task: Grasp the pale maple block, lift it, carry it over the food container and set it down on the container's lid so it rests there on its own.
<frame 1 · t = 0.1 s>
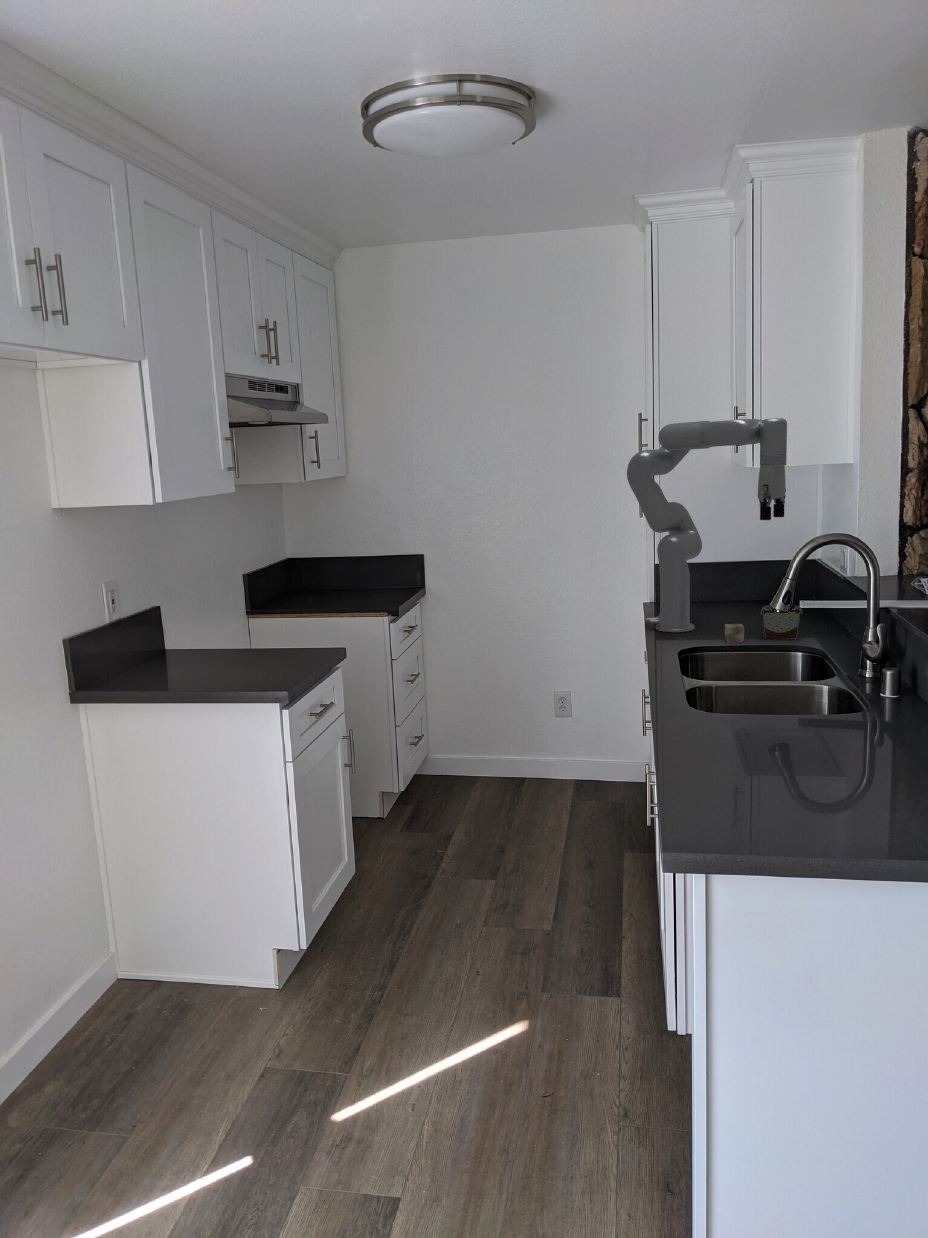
hand: (772, 518, 280), 37 cm above the countertop, tool pointing down, fingers open, 9 cm apart
maple block: (734, 641, 287), on the countertop
food container: (778, 638, 289), on the countertop
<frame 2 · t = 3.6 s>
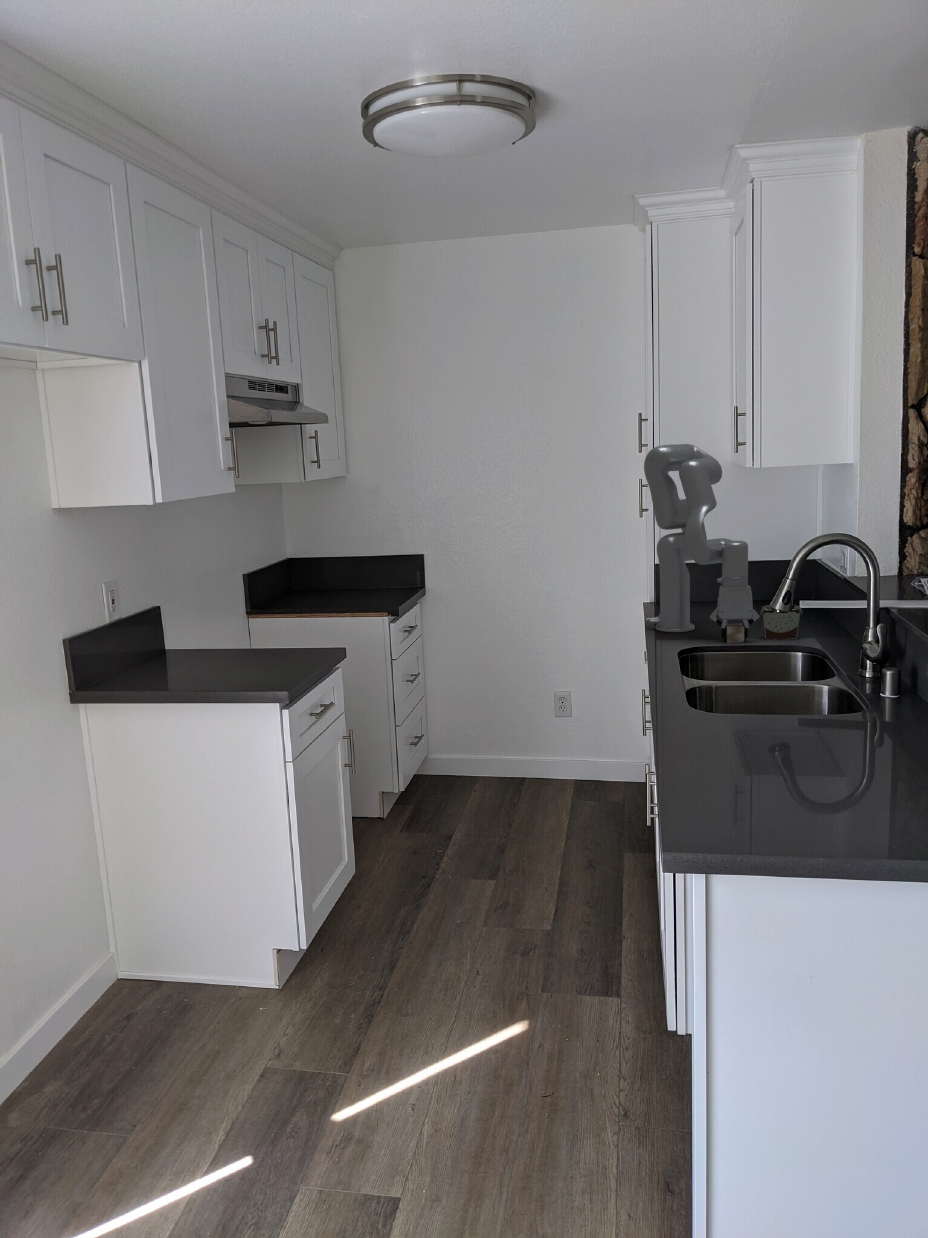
hand: (734, 639, 287), 0 cm above the countertop, tool pointing down, fingers closed on maple block, 5 cm apart
maple block: (734, 641, 287), on the countertop, touching gripper
everything else where it was.
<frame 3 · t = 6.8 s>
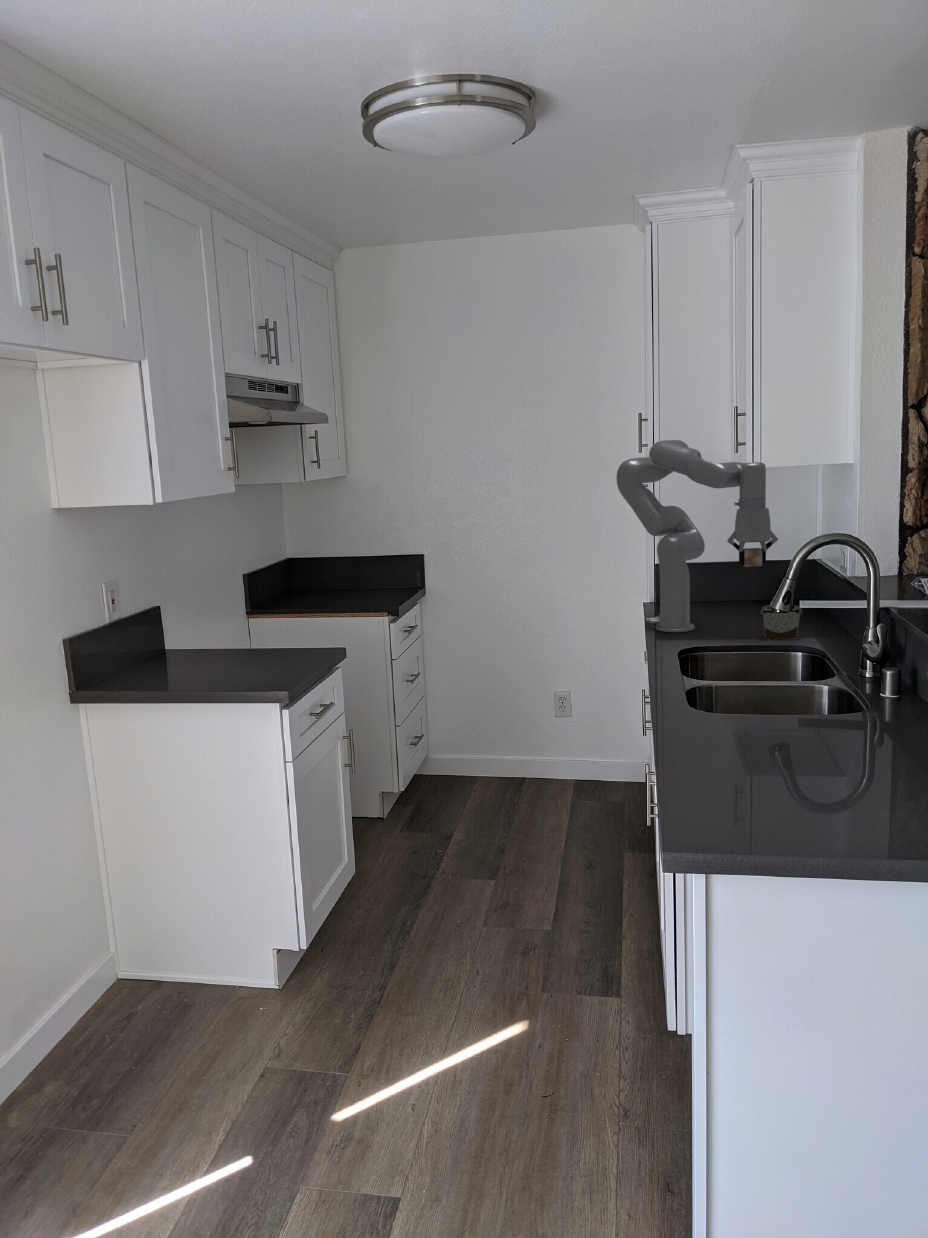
hand: (752, 563, 283), 24 cm above the countertop, tool pointing down, fingers closed on maple block, 5 cm apart
maple block: (752, 565, 283), point 23 cm above the countertop, touching gripper
everything else where it was.
when the fingers open (13 cm above the countertop, at t = 10.1 s): maple block drops 2 cm, resting on food container.
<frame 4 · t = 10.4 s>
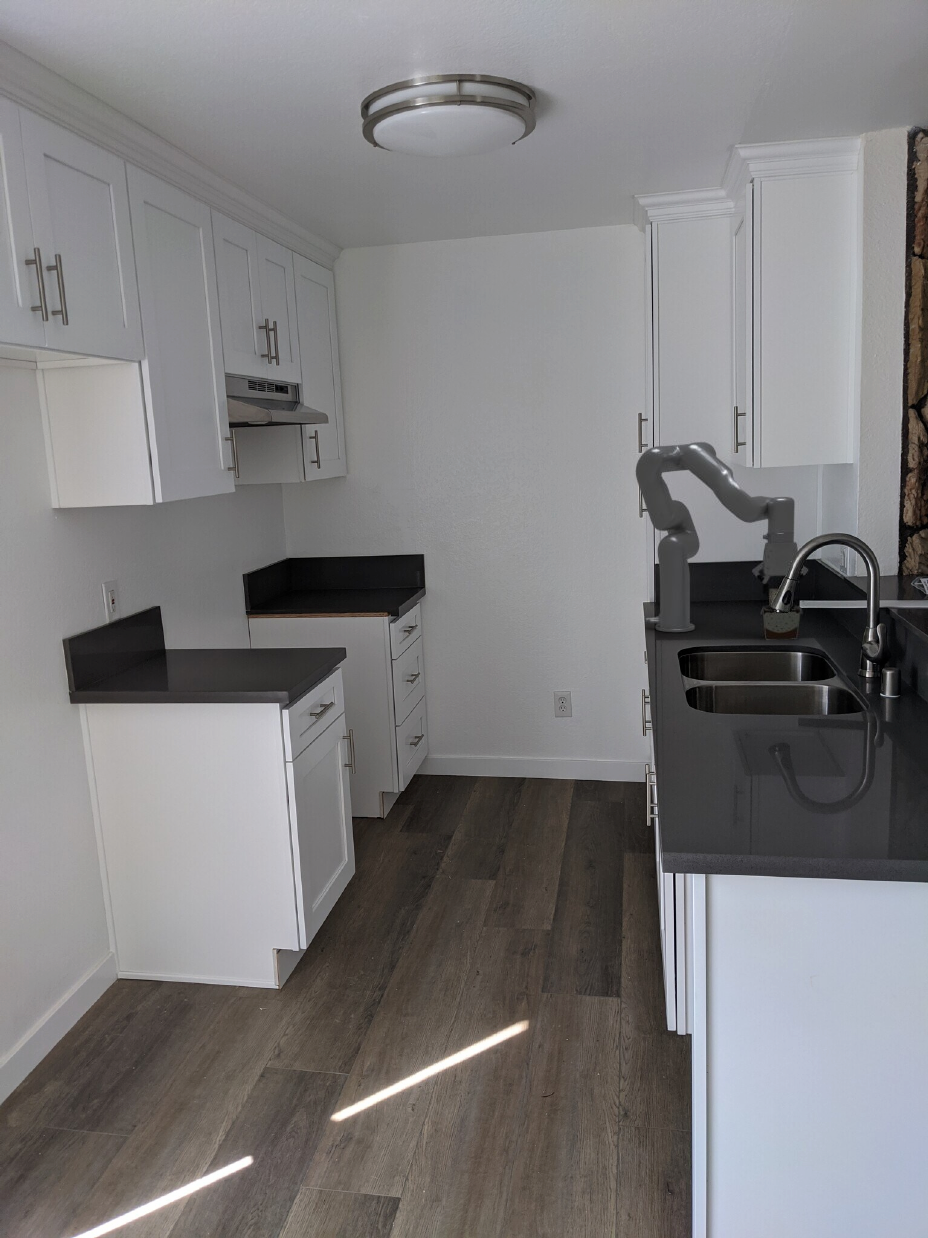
hand: (779, 595, 286), 13 cm above the countertop, tool pointing down, fingers open, 7 cm apart
maple block: (779, 606, 287), point 10 cm above the countertop, touching food container
food container: (778, 638, 289), on the countertop, touching maple block
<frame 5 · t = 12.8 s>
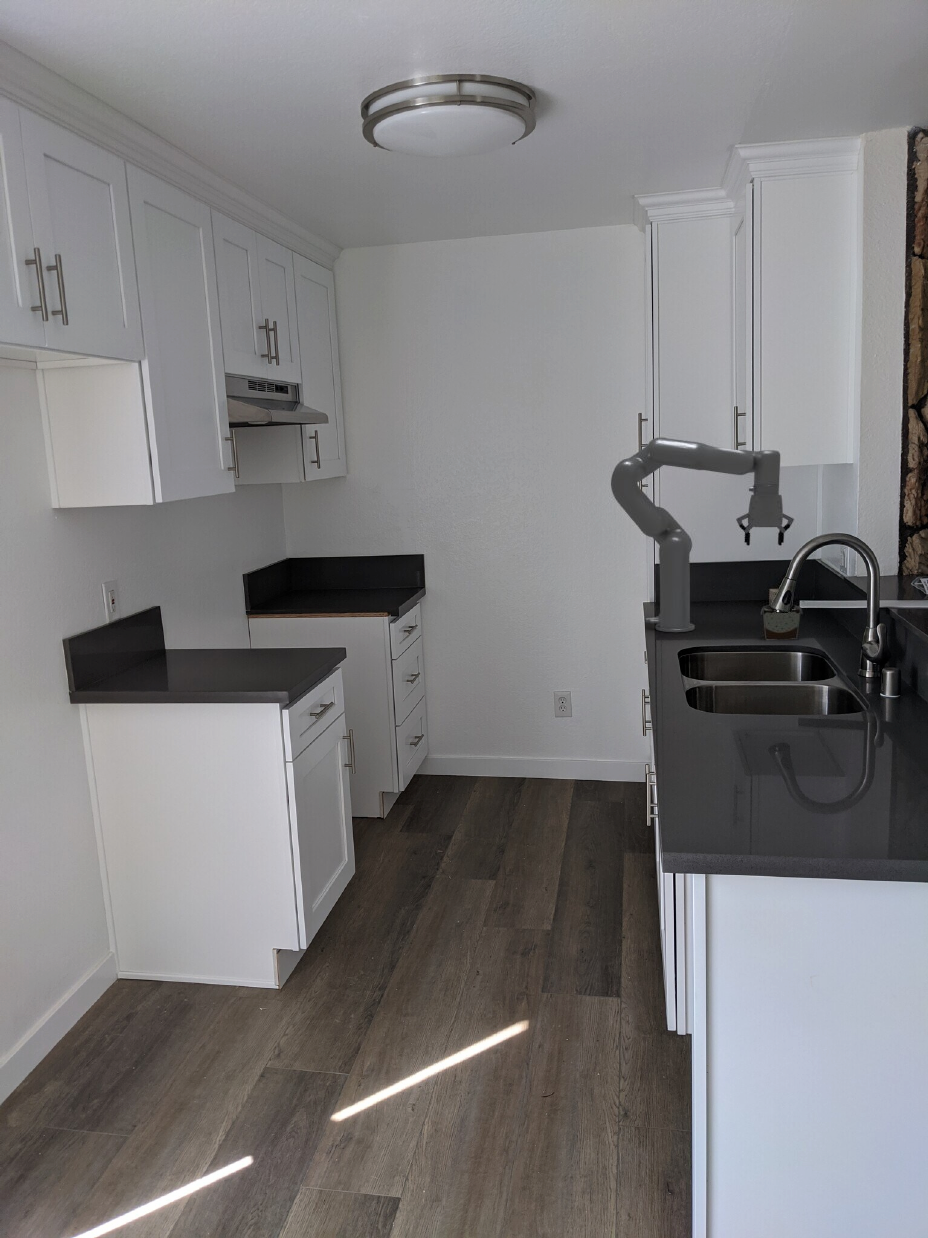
hand: (763, 545, 295), 28 cm above the countertop, tool pointing down, fingers open, 9 cm apart
nothing on the countertop moved.
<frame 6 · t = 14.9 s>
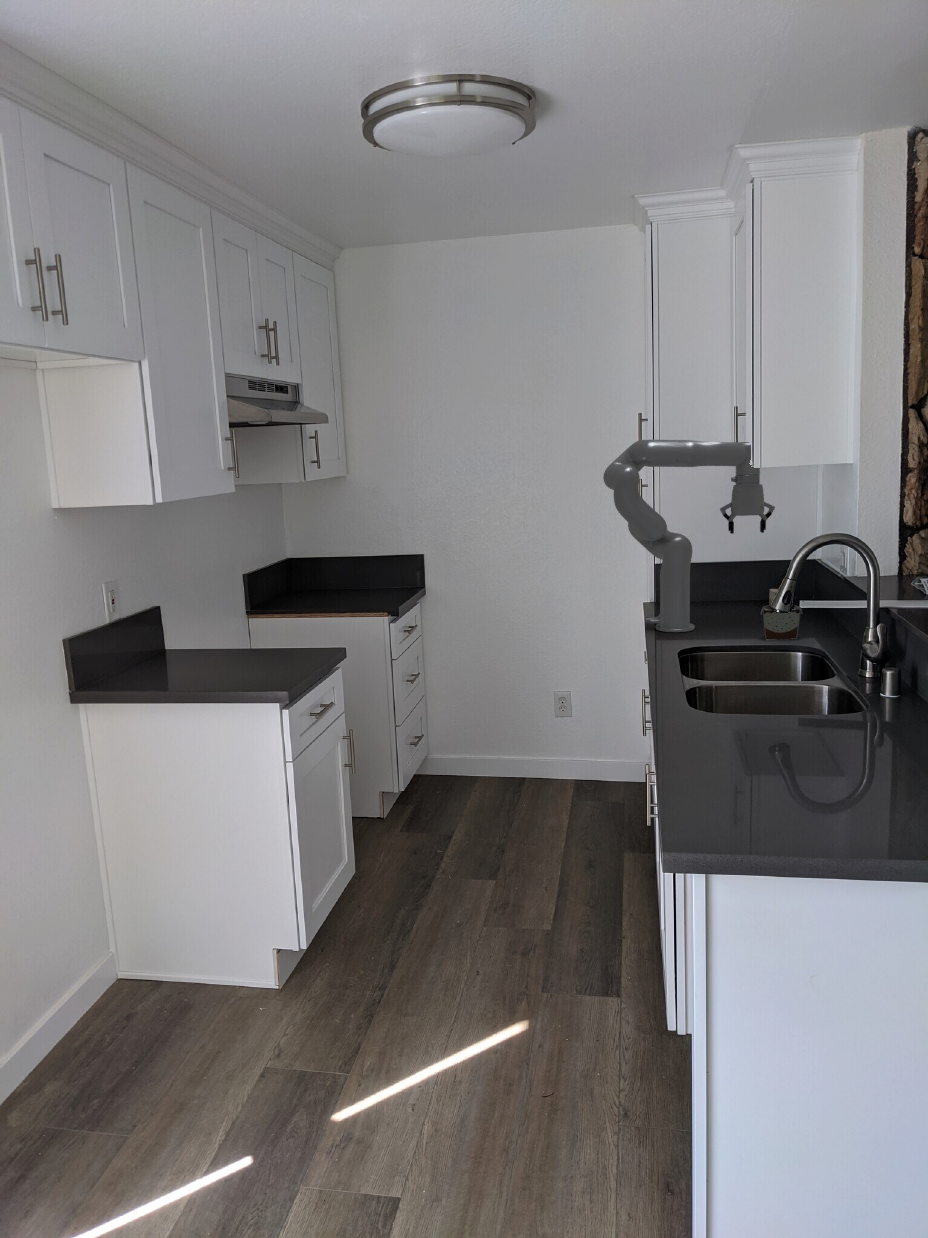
hand: (746, 532, 307), 30 cm above the countertop, tool pointing down, fingers open, 9 cm apart
nothing on the countertop moved.
at the end: maple block inside the target area on the food container (0.2 cm from its centre), point 10.2 cm above the food container's base; maple block tilted 0°; the gripper is holding nothing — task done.
